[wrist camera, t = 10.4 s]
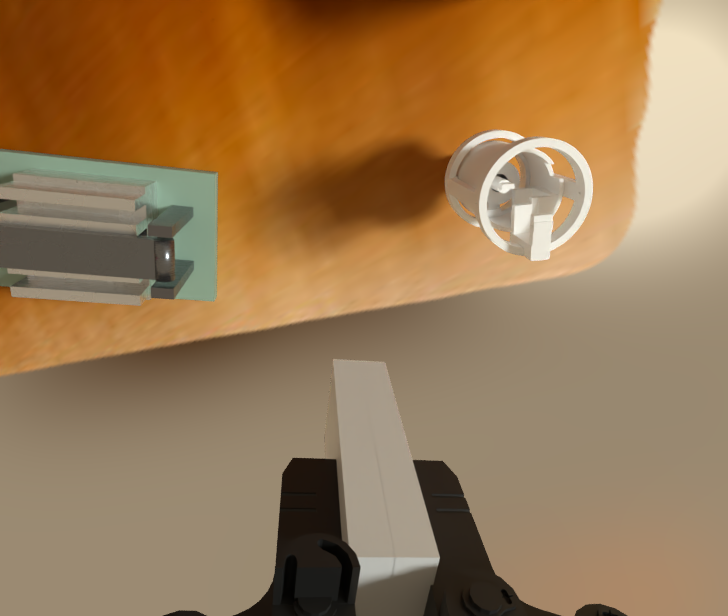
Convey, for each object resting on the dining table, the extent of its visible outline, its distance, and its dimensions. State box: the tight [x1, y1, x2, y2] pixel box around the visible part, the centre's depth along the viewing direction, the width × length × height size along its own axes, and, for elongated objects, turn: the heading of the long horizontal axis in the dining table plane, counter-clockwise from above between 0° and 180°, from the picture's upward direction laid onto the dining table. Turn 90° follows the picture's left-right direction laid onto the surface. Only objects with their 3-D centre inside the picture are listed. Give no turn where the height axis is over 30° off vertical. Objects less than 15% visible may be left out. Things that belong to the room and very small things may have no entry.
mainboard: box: [0, 149, 218, 301], centre depth 41 cm, size 18×11×1 cm, turn 83°
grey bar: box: [0, 223, 175, 282], centre depth 34 cm, size 15×3×2 cm, turn 83°
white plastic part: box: [445, 130, 593, 261], centre depth 35 cm, size 7×7×15 cm
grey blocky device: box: [0, 168, 194, 306], centre depth 36 cm, size 16×9×8 cm, turn 83°
